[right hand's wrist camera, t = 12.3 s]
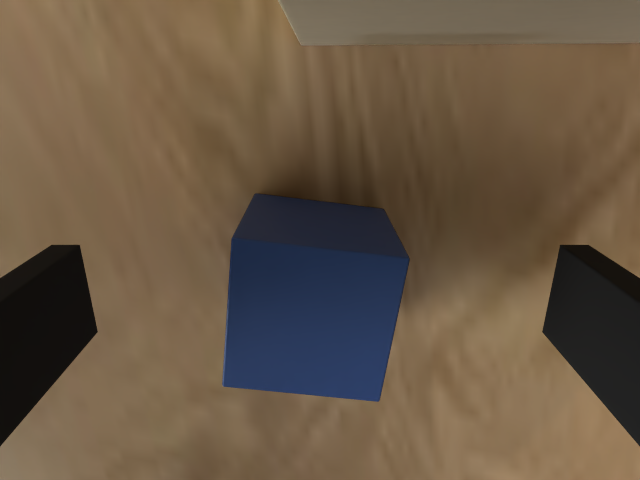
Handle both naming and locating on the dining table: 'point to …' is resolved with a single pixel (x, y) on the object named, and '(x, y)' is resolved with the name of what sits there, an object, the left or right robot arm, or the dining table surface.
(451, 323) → the dining table surface
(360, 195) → the dining table surface
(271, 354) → the block
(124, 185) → the dining table surface
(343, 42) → the chest
